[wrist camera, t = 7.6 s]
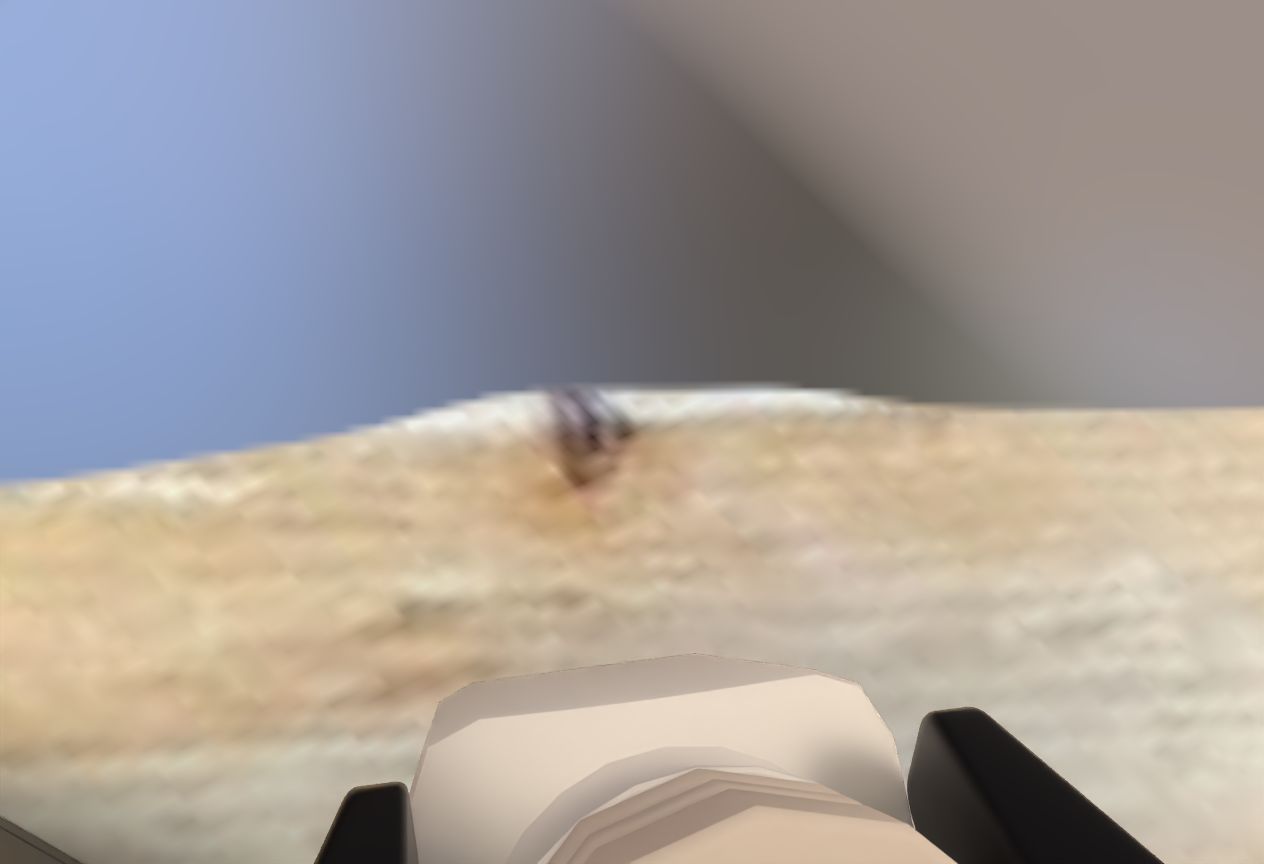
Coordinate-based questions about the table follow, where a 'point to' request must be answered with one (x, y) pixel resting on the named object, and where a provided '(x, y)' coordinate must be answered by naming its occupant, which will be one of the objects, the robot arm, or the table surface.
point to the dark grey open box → (27, 848)
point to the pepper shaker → (664, 770)
